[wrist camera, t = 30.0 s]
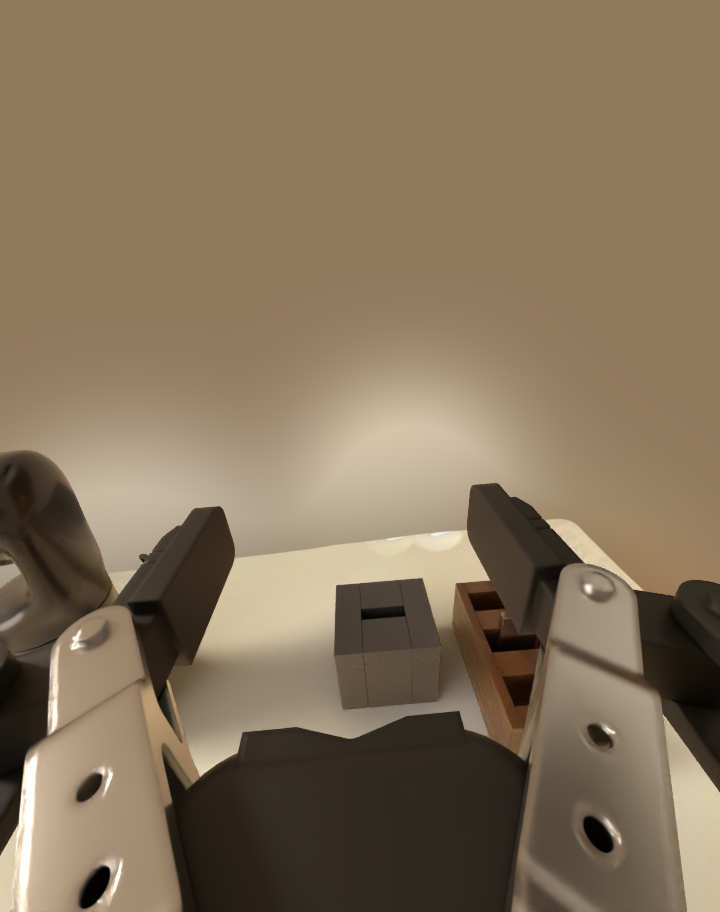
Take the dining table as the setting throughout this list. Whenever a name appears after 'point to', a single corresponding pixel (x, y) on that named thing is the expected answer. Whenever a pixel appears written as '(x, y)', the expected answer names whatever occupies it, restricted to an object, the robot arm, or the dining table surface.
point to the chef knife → (511, 636)
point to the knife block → (385, 644)
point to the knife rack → (493, 663)
